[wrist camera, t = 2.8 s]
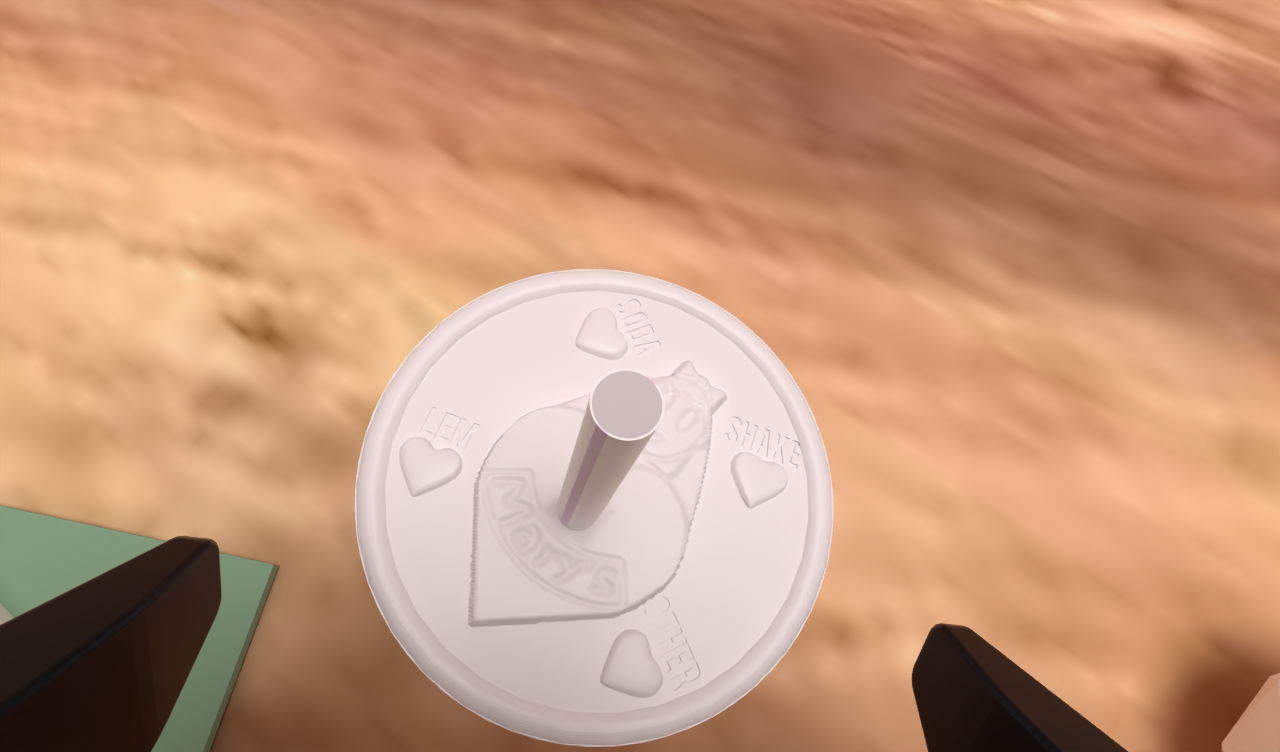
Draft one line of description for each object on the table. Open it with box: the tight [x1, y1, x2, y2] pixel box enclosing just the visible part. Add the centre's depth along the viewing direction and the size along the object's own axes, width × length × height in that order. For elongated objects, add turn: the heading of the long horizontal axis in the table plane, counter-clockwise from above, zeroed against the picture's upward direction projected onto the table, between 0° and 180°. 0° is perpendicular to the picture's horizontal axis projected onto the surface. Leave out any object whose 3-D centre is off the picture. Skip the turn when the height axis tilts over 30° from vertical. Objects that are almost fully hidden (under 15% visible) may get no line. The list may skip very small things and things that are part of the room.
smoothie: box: [355, 269, 833, 747], centre depth 12 cm, size 6×6×14 cm
